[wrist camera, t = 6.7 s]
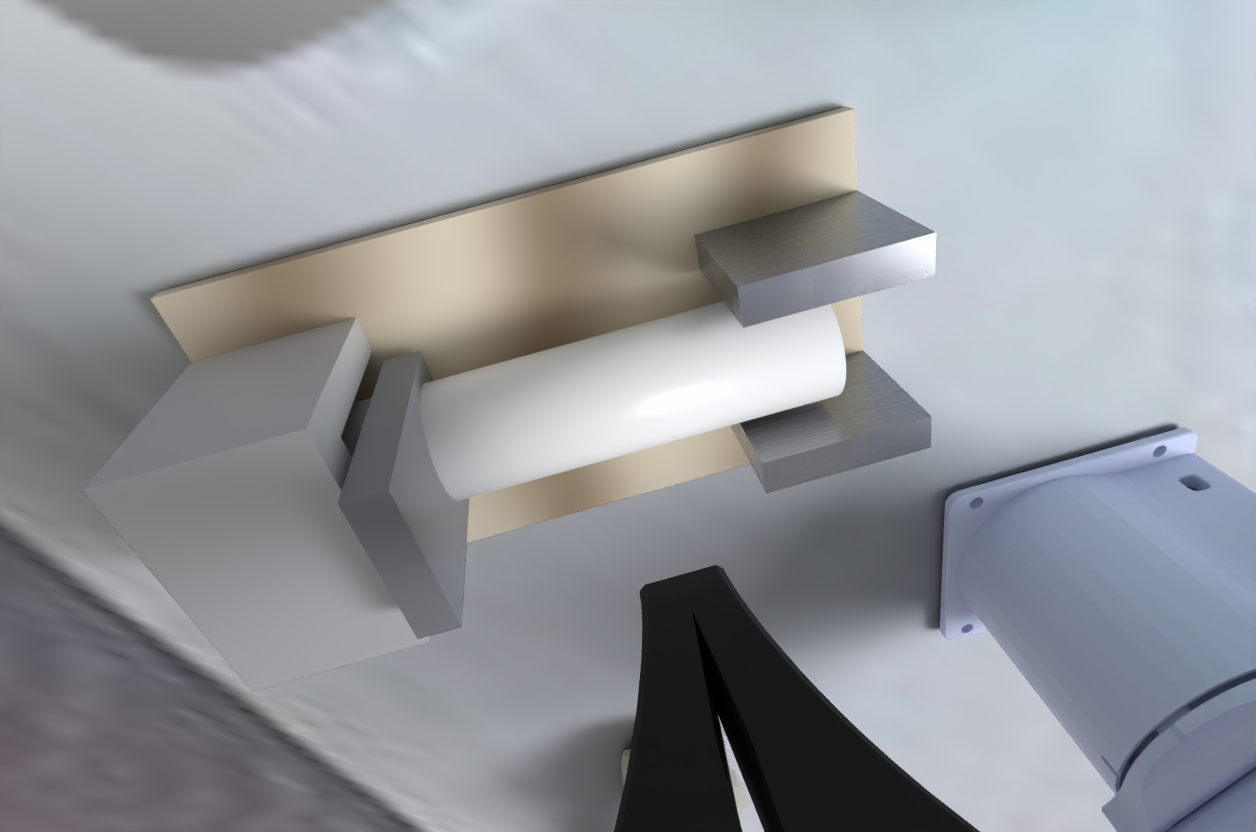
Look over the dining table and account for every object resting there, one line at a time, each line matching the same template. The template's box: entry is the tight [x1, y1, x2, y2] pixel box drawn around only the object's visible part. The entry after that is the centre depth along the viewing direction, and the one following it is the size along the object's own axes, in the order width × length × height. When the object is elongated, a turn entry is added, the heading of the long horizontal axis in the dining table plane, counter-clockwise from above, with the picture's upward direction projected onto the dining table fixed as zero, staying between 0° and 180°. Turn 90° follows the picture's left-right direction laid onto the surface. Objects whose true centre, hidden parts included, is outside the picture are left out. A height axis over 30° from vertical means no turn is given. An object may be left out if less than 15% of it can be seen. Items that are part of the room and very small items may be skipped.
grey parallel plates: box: [694, 191, 936, 493], centre depth 18 cm, size 4×6×4 cm
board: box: [151, 107, 863, 543], centre depth 20 cm, size 18×10×1 cm, turn 103°
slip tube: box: [338, 301, 846, 639], centre depth 17 cm, size 14×4×6 cm, turn 103°
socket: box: [82, 318, 430, 692], centre depth 17 cm, size 4×6×6 cm
